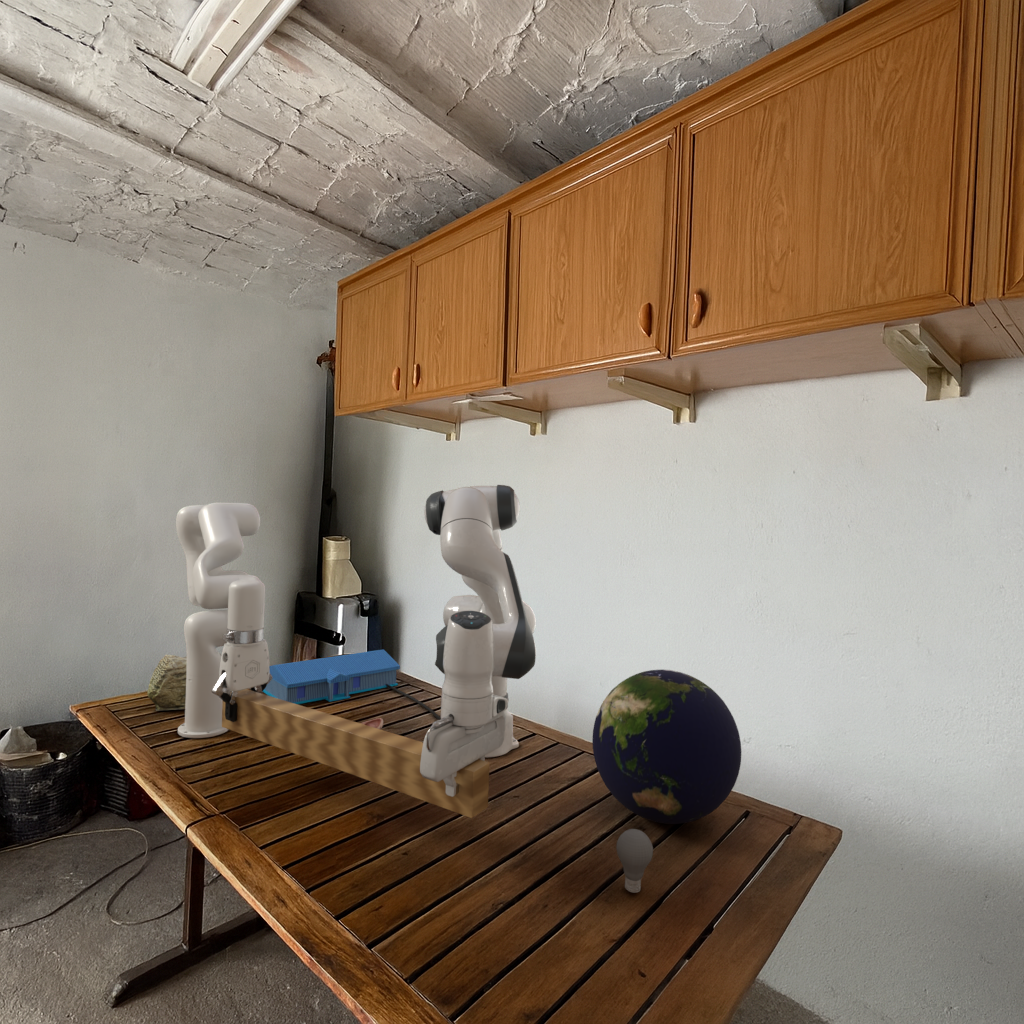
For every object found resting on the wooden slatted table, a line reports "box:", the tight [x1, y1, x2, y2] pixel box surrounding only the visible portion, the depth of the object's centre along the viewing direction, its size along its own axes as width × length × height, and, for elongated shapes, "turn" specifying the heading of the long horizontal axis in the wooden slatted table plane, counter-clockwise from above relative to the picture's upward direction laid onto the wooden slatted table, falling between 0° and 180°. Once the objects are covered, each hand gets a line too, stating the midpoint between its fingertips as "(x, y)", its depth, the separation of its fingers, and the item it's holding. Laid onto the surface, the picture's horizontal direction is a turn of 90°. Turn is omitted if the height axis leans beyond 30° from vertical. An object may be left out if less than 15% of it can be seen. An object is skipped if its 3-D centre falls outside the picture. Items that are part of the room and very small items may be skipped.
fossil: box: [147, 654, 187, 712], centre depth 185 cm, size 9×18×15 cm, turn 132°
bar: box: [222, 689, 490, 819], centre depth 125 cm, size 69×5×8 cm, turn 58°
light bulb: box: [615, 828, 654, 894], centre depth 106 cm, size 6×6×10 cm
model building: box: [262, 649, 401, 705], centre depth 208 cm, size 39×24×10 cm, turn 132°
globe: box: [592, 668, 742, 825], centre depth 132 cm, size 30×30×30 cm
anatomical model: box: [359, 717, 384, 730], centre depth 167 cm, size 13×4×12 cm
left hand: (242, 715), depth 141 cm, fingers closed on bar, 4 cm apart
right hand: (463, 787), depth 109 cm, fingers closed on bar, 5 cm apart
